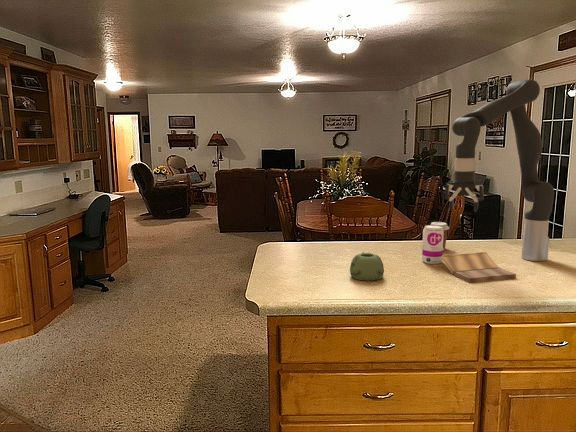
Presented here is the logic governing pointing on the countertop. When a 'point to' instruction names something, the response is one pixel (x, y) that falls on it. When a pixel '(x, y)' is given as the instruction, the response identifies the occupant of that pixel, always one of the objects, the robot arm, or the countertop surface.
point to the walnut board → (484, 274)
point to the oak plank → (468, 261)
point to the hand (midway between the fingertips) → (463, 211)
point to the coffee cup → (443, 229)
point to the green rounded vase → (367, 267)
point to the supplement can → (432, 244)
